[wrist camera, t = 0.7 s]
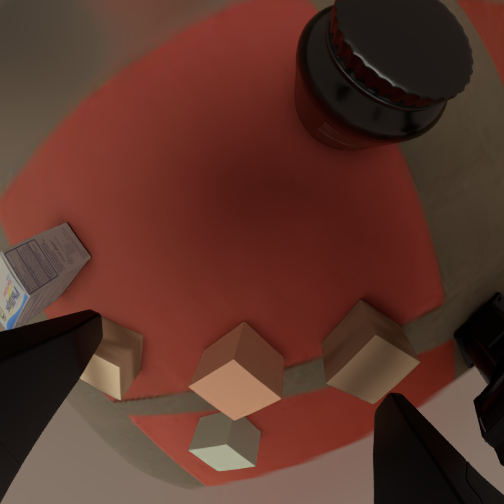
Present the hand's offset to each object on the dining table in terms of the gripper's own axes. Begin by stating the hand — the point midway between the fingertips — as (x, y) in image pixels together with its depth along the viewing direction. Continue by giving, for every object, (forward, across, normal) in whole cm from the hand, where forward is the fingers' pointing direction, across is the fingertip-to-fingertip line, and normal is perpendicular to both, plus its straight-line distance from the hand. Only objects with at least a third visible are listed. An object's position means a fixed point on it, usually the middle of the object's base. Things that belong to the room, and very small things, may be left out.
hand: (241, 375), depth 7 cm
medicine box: (+14, +19, +8) cm, 25 cm away
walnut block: (+14, -9, +6) cm, 18 cm away
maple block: (+14, +12, +15) cm, 23 cm away
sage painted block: (+14, -1, +22) cm, 26 cm away
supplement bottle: (+14, -2, -11) cm, 18 cm away
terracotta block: (+14, 0, +11) cm, 17 cm away
